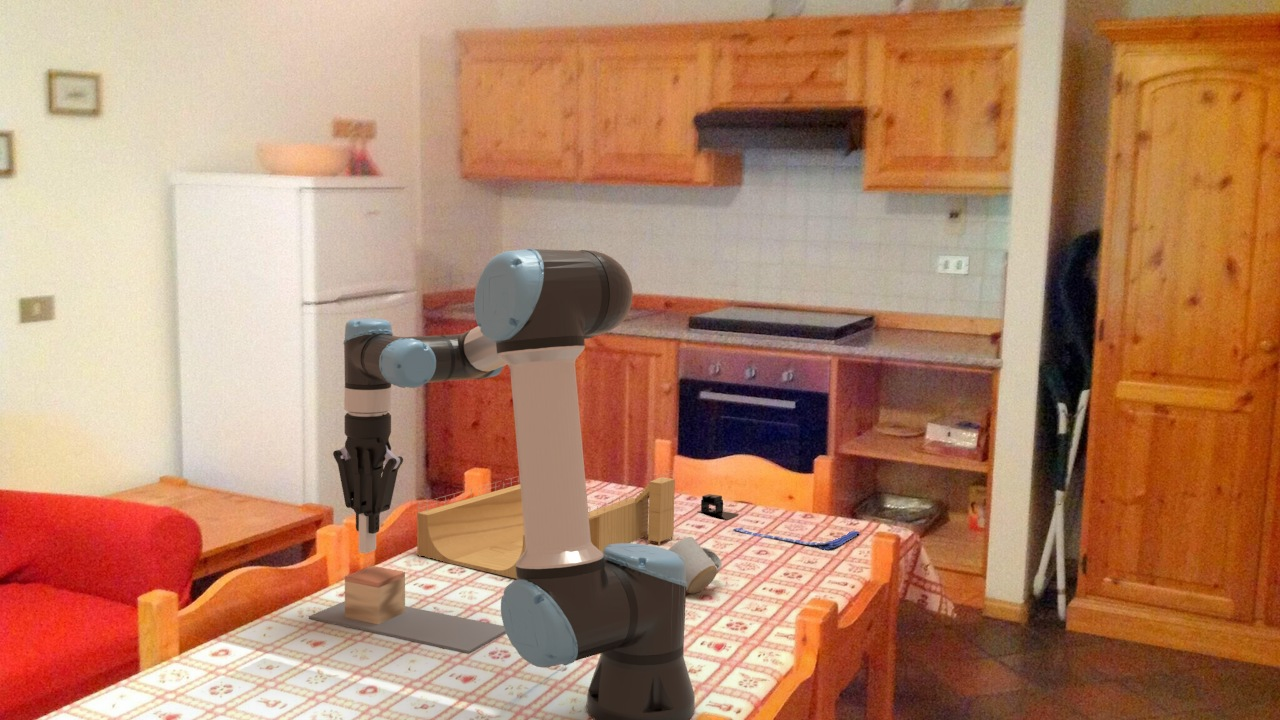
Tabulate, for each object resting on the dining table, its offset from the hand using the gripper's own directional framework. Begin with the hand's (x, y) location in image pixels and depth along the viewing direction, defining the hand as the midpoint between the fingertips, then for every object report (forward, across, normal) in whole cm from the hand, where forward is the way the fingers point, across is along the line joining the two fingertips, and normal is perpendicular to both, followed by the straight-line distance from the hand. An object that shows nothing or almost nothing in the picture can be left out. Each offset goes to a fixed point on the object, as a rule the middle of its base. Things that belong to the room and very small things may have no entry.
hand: (367, 550), depth 191 cm
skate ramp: (+12, -7, -49) cm, 51 cm away
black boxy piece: (+13, -26, -91) cm, 95 cm away
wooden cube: (+11, -2, 0) cm, 11 cm away
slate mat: (+11, -9, 0) cm, 14 cm away
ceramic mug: (+11, -43, -41) cm, 60 cm away
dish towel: (+12, -48, -86) cm, 99 cm away
